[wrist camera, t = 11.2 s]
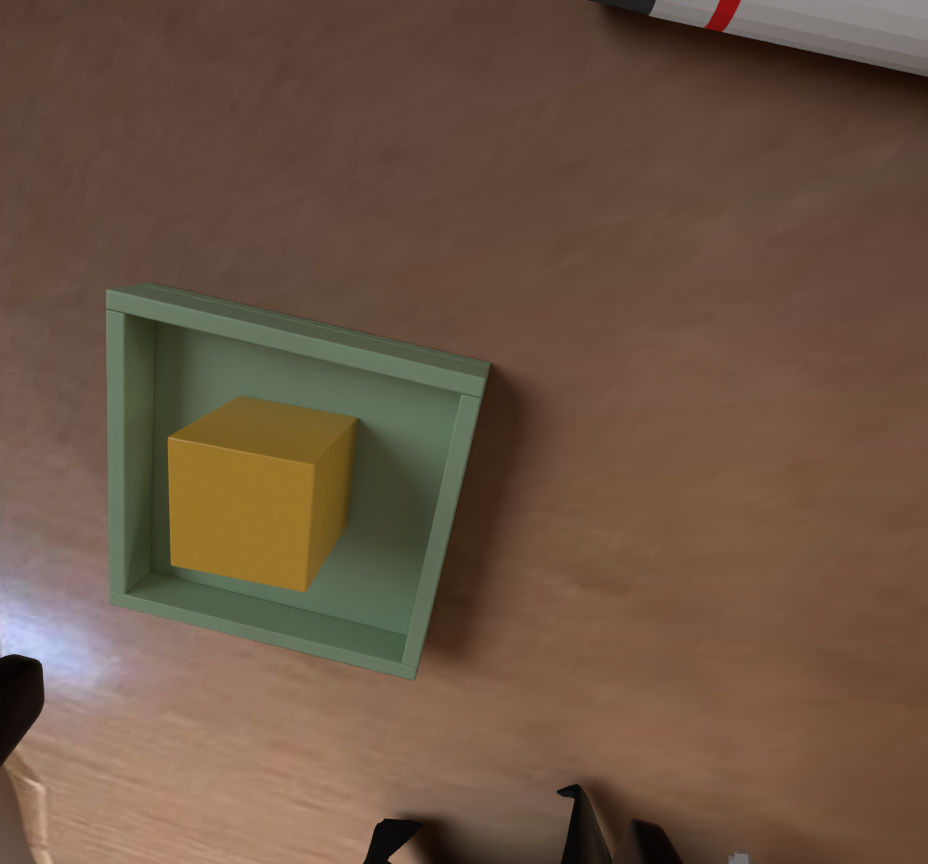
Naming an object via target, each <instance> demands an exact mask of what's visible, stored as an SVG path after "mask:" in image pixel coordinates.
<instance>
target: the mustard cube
mask: <svg viewBox="0 0 928 864" xmlns="http://www.w3.org/2000/svg"><path fill="white" fill-rule="evenodd" d="M357 426H358V418H356V417H351V416H346V415H341V414H335V413H330V412H325V411H319V410H314V409H309V408H303V407H298V406H293V405H287V404H282V403H277V402H271V401H266V400H261V399H256V398H250V397H245V396H238V397H236V398H235V399H233V400H231V401H230V402H228V403H226V404H224V405H223V406H221V407H219V408H217V409H216V410H214V411H212V412H210V413H209V414H207V415H205V416H204V417H202V418H200V419H198V420H197V421H195V422H193V423H191V424H190V425H188V426H186V427H184V428H183V429H181V430H179V431H177V432H176V433H174V434H172V435H171V436H169V437H168V475H169V513H170V552H171V565H172V566H177V567H182V568H187V569H191V570H196V571H201V572H206V573H211V574H216V575H221V576H226V577H231V578H236V579H241V580H246V581H251V582H256V583H260V584H265V585H270V586H275V587H280V588H285V589H290V590H295V591H300V592H306V591H307V590H308V588H309V586H310V585H311V583H312V582H313V580H314V578H315V577H316V575H317V573H318V572H319V570H320V568H321V567H322V565H323V564H324V562H325V560H326V559H327V557H328V555H329V554H330V552H331V550H332V549H333V547H334V546H335V544H336V542H337V541H338V539H339V537H340V536H341V534H342V532H343V531H344V529H345V528H346V526H347V524H348V516H349V506H350V496H351V486H352V476H353V466H354V456H355V446H356V436H357Z"/></svg>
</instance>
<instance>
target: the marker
mask: <svg viewBox="0 0 928 864" xmlns="http://www.w3.org/2000/svg"><path fill="white" fill-rule="evenodd" d="M589 1H593V2H597V3H602V4H606V5H611V6H616V7H620V8H625V9H629V10H634V11H639V12H643V13H648V15H649V16H651V17H656V18H661V19H665V20H670V21H674V22H679V23H683V24H688V25H693V26H697V27H702V28H706V29H711V30H716V31H720V32H725V33H729V34H734V35H739V36H743V37H748V38H752V39H757V40H762V41H766V42H771V43H775V44H780V45H785V46H789V47H794V48H798V49H803V50H808V51H812V52H817V53H821V54H826V55H831V56H835V57H840V58H844V59H849V60H854V61H858V62H863V63H867V64H872V65H877V66H881V67H886V68H890V69H895V70H900V71H904V72H909V73H913V74H918V75H922V76H927V77H928V0H589Z"/></svg>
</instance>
